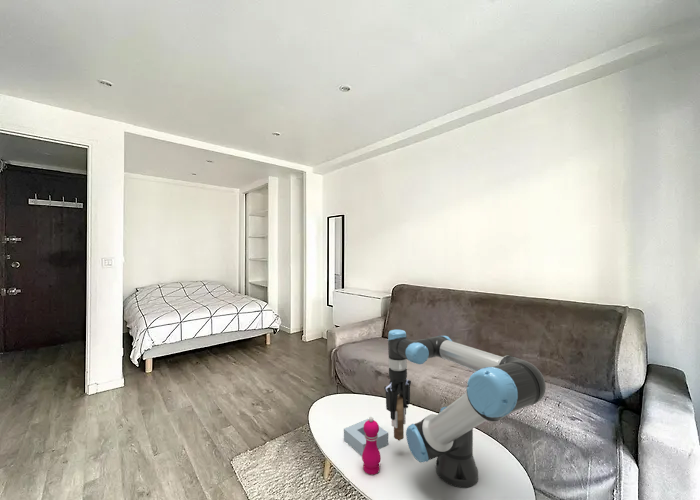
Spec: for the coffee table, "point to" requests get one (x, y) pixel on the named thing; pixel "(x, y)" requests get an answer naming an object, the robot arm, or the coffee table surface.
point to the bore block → (363, 437)
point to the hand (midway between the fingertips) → (398, 424)
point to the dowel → (399, 420)
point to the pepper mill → (371, 448)
